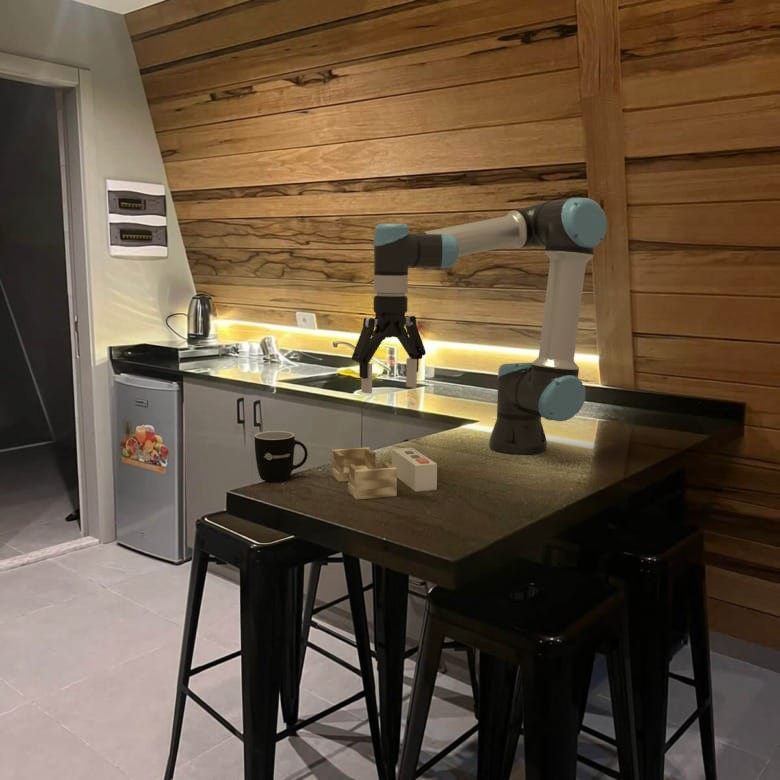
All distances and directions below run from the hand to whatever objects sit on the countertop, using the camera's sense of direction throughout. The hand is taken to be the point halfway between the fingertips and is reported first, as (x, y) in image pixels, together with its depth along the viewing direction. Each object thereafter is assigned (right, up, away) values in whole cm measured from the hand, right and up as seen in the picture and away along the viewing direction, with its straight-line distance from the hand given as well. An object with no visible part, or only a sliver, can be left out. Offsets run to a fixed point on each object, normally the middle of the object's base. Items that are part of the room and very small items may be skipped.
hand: (389, 390), depth 179 cm
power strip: (+5, -21, +1) cm, 22 cm away
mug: (-25, -20, +3) cm, 32 cm away
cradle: (-6, -21, -2) cm, 22 cm away
